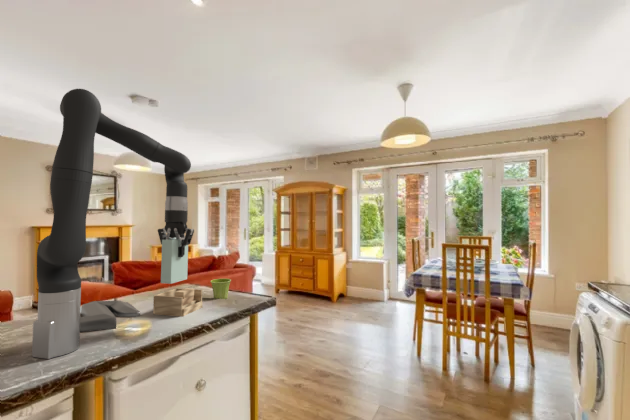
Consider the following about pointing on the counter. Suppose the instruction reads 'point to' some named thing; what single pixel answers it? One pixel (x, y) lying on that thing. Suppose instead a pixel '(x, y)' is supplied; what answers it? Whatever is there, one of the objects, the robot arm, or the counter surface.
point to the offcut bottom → (189, 304)
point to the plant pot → (220, 288)
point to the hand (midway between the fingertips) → (175, 256)
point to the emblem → (104, 314)
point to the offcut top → (184, 293)
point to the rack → (175, 303)
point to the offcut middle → (188, 300)
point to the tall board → (173, 262)
